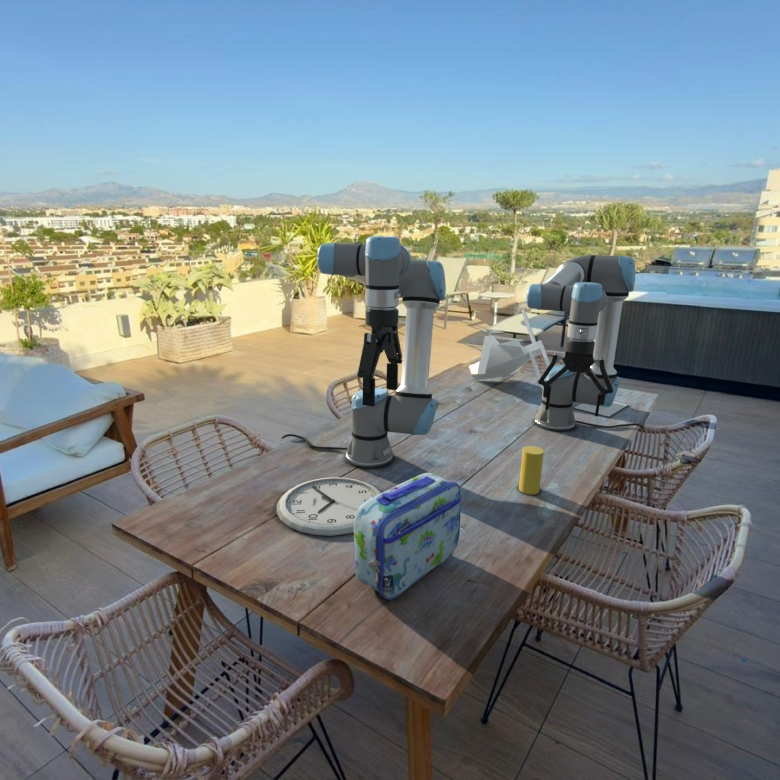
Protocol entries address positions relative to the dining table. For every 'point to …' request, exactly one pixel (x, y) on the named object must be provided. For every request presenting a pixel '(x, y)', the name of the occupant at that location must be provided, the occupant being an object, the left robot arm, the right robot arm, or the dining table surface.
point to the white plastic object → (507, 356)
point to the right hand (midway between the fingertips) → (571, 411)
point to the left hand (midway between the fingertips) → (380, 397)
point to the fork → (436, 397)
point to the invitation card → (602, 408)
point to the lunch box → (406, 533)
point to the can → (531, 470)
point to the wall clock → (324, 505)
